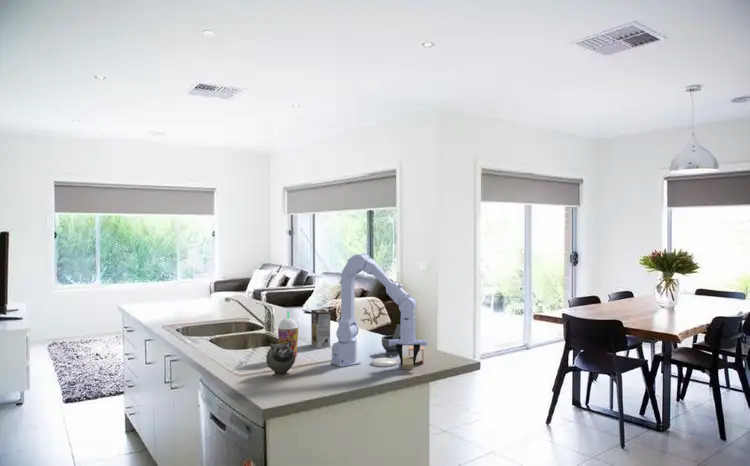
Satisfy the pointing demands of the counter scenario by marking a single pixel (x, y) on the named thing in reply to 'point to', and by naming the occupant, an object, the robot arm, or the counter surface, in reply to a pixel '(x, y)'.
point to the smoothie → (288, 332)
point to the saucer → (384, 362)
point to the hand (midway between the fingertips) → (407, 364)
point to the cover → (419, 350)
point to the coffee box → (320, 328)
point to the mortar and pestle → (385, 340)
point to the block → (407, 362)
